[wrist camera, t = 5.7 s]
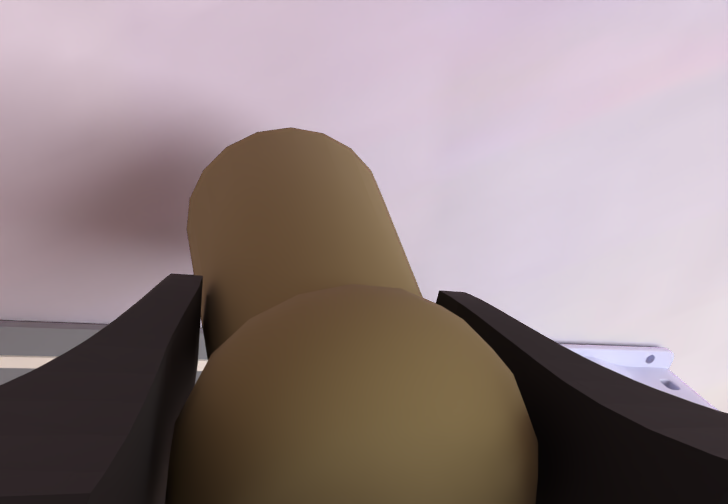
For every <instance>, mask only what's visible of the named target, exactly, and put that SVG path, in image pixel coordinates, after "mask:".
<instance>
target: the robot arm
mask: <svg viewBox="0 0 728 504" xmlns="http://www.w3.org/2000/svg"><path fill="white" fill-rule="evenodd" d="M202 284H203V276H201V275H185V274H170V275H169V276H167V277H166V278H165V279H164V280H162V281H161V282H160V283H159V284H158V285H157V286H155V287H154V288H153V289H152V290H151V291H150V292H149V293H148V294H146V295H145V296H144V297H143V298H142V299H140V300H139V301H138V302H137V303H136V304H134V305H133V306H132V307H131V308H129V309H128V310H127V311H126V312H124V313H123V314H122V315H121V316H119V317H118V318H117V319H116V320H114V321H113V322H111V323H110V324H109V325H107V326H106V327H104V328H103V329H101V330H100V331H99V332H97V333H96V334H94V335H93V336H91V337H90V338H89V339H87V340H85V341H84V342H82V343H81V344H79V345H77V346H76V347H74V348H72V349H71V350H69V351H67V352H66V353H64V354H62V355H60V356H58V357H57V358H55V359H53V360H51V361H49V362H47V363H46V364H44V365H42V366H40V367H38V368H36V369H34V370H32V371H30V372H28V373H26V374H24V375H22V376H19V377H17V378H15V379H13V380H11V381H9V382H6V383H4V384H2V385H0V504H165V498H166V487H167V477H168V467H169V457H170V450H171V444H172V438H173V432H174V425H175V422H176V420H177V418H178V416H179V414H180V412H181V410H182V408H183V406H184V404H185V402H186V401H187V399H188V397H189V395H190V393H191V391H192V389H193V387H194V386H195V381H196V373H197V366H198V355H199V337H200V319H201V302H202ZM436 304H438V305H440V306H442V307H444V308H446V309H447V310H449V311H450V312H452V313H454V314H455V315H457V316H459V317H460V318H462V319H463V320H464V321H465V322H466V323H467V324H468V325H469V326H470V327H471V328H472V329H473V330H474V331H475V332H476V333H477V334H478V335H479V336H480V337H481V338H482V339H483V340H484V341H485V342H486V343H487V344H488V345H489V346H490V347H491V348H492V349H493V350H494V351H495V352H496V354H497V355H498V356H499V357H500V358H501V360H502V361H503V362H504V363H505V365H506V366H507V367H508V368H509V369H510V371H511V372H512V373H513V375H514V378H515V380H516V383H517V386H518V388H519V391H520V393H521V396H522V399H523V401H524V404H525V407H526V409H527V412H528V415H529V418H530V421H531V423H532V426H533V429H534V432H535V435H536V437H537V440H538V482H537V493H536V503H535V504H728V413H724V412H721V411H719V410H717V409H716V408H715V407H714V406H713V405H711V404H710V403H709V402H708V401H706V400H705V399H704V398H703V397H702V396H700V395H699V394H698V393H697V392H696V391H694V390H693V389H692V388H691V387H690V386H688V385H687V384H686V383H685V382H684V381H682V380H681V379H680V378H679V377H678V376H676V375H675V374H674V373H673V372H672V371H670V370H669V368H670V366H671V364H672V362H673V359H674V353H673V352H672V351H670V350H669V349H668V348H660V347H632V346H603V345H575V344H558V343H556V342H554V341H553V340H551V339H549V338H547V337H545V336H544V335H542V334H540V333H538V332H537V331H535V330H533V329H531V328H530V327H528V326H526V325H524V324H523V323H521V322H519V321H518V320H516V319H514V318H512V317H511V316H509V315H507V314H506V313H504V312H502V311H500V310H499V309H497V308H495V307H493V306H492V305H490V304H488V303H486V302H484V301H482V300H480V299H478V298H476V297H474V296H472V295H470V294H467V293H465V292H452V291H439V294H438V298H437V301H436Z"/></svg>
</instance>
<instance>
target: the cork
mask: <svg viewBox="0 0 728 504" xmlns="http://www.w3.org/2000/svg"><path fill="white" fill-rule="evenodd" d="M187 234H188V240H189V247H190V253H191V259H192V265H193V272H194V275H201V276H203V284H202V302H201V322H202V328H203V334H204V340H205V347H206V353H207V359H208V362H207V363H206V365H205V367H204V369H203V371H202V373H201V375H200V376H199V378H198V380H197V382H196V384H195V386H194V387H193V389H192V391H191V393H190V395H189V397H188V399H187V401H186V402H185V404H184V406H183V408H182V410H181V412H180V414H179V416H178V418H177V420H176V422H175V425H174V432H173V438H172V444H171V450H170V457H169V467H168V477H167V487H166V498H165V504H535V503H536V493H537V482H538V440H537V437H536V435H535V432H534V429H533V426H532V423H531V421H530V418H529V415H528V412H527V409H526V407H525V404H524V401H523V399H522V396H521V393H520V391H519V388H518V386H517V383H516V380H515V378H514V375H513V373H512V372H511V371H510V369H509V368H508V367H507V366H506V365H505V363H504V362H503V361H502V360H501V358H500V357H499V356H498V355H497V354H496V352H495V351H494V350H493V349H492V348H491V347H490V346H489V345H488V344H487V343H486V342H485V341H484V340H483V339H482V338H481V337H480V336H479V335H478V334H477V333H476V332H475V331H474V330H473V329H472V328H471V327H470V326H469V325H468V324H467V323H466V322H465V321H464V320H463V319H462V318H460V317H459V316H457V315H455V314H454V313H452V312H450V311H449V310H447V309H446V308H444V307H442V306H440V305H438V304H436V303H434V302H431V301H429V300H427V299H424V298H423V297H422V295H421V292H420V290H419V287H418V285H417V282H416V280H415V277H414V275H413V272H412V270H411V267H410V265H409V262H408V260H407V257H406V255H405V252H404V250H403V247H402V245H401V242H400V240H399V237H398V235H397V232H396V230H395V227H394V225H393V222H392V220H391V217H390V215H389V212H388V210H387V207H386V205H385V202H384V200H383V197H382V195H381V192H380V190H379V188H378V186H377V183H376V181H375V179H374V176H373V174H372V172H371V170H370V169H369V168H368V167H367V166H366V164H365V163H364V162H363V161H362V160H361V159H360V158H359V157H358V156H357V155H356V154H355V152H354V151H353V150H352V149H351V148H349V147H347V146H345V145H344V144H342V143H340V142H338V141H336V140H334V139H333V138H331V137H329V136H327V135H325V134H323V133H318V132H313V131H307V130H302V129H296V128H284V129H277V130H269V131H262V132H257V133H255V134H252V135H250V136H248V137H246V138H244V139H242V140H240V141H238V142H236V143H234V144H232V145H230V146H228V147H226V148H225V149H224V150H223V151H222V152H221V153H220V154H219V155H218V156H217V157H216V158H215V159H214V160H213V161H212V162H211V163H210V164H209V165H208V166H207V167H206V168H205V169H204V170H203V172H202V174H201V176H200V178H199V180H198V183H197V185H196V187H195V189H194V191H193V193H192V195H191V197H190V200H189V211H188V221H187Z"/></svg>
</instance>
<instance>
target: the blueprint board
mask: <svg viewBox="0 0 728 504" xmlns="http://www.w3.org/2000/svg"><path fill="white" fill-rule="evenodd" d="M106 326H107V325H106V324H78V323H51V322H24V321H0V385H2V384H4V383H6V382H9V381H11V380H13V379H15V378H17V377H19V376H22V375H24V374H26V373H28V372H30V371H32V370H34V369H36V368H38V367H40V366H42V365H44V364H46V363H47V362H49V361H51V360H53V359H55V358H57V357H58V356H60V355H62V354H64V353H66V352H67V351H69V350H71V349H72V348H74V347H76V346H77V345H79V344H81V343H82V342H84V341H85V340H87V339H89V338H90V337H91V336H93V335H94V334H96V333H97V332H99V331H100V330H101V329H103V328H104V327H106ZM207 362H208V359H207V353H206V347H205V340H204V334H203V328H200V337H199V355H198V366H197V373H196V381H195V384H196V382H197V380H198V378H199V376H200V375H201V373H202V371H203V369H204V367H205V365H206V363H207Z"/></svg>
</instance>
